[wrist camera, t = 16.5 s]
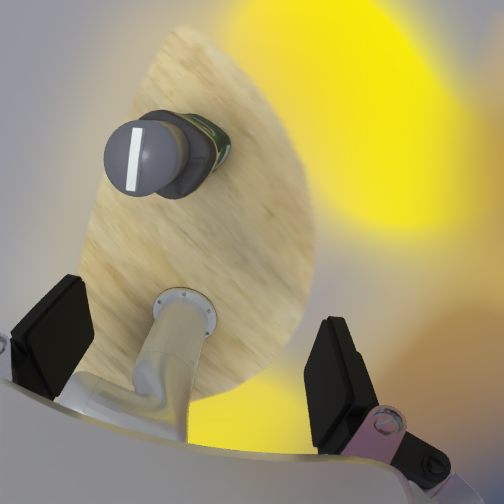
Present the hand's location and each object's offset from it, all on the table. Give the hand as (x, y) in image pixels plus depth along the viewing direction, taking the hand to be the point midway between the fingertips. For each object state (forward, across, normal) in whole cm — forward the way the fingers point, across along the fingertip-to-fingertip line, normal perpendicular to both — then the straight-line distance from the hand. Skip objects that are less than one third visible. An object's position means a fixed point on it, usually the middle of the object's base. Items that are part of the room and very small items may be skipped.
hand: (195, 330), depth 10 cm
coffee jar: (+36, +8, -4) cm, 37 cm away
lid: (+17, +8, -4) cm, 19 cm away
